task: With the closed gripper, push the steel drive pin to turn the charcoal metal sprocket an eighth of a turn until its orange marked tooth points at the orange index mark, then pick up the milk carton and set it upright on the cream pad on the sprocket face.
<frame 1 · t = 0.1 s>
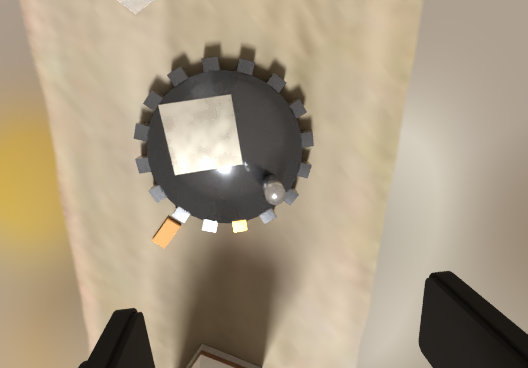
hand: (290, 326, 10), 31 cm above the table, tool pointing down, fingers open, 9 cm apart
index mark: (166, 232, 42), on the table
sprocket: (226, 154, 36), point 3 cm above the table, hinge at 0.0°
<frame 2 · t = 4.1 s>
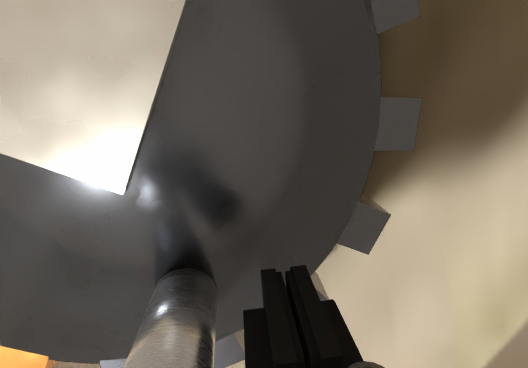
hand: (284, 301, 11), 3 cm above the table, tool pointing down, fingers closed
sprocket: (65, 128, 8), point 3 cm above the table, hinge at -3.5°, touching gripper
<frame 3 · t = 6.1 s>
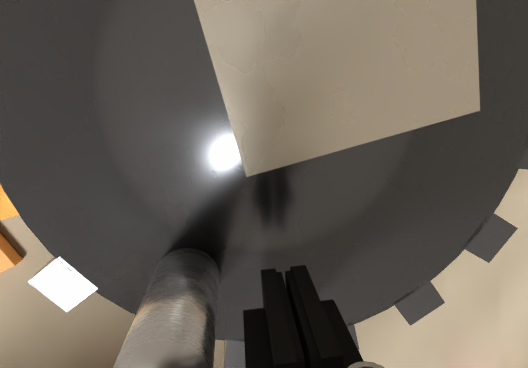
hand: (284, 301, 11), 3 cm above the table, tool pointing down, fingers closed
sprocket: (287, 115, 9), point 3 cm above the table, hinge at -55.4°, touching gripper
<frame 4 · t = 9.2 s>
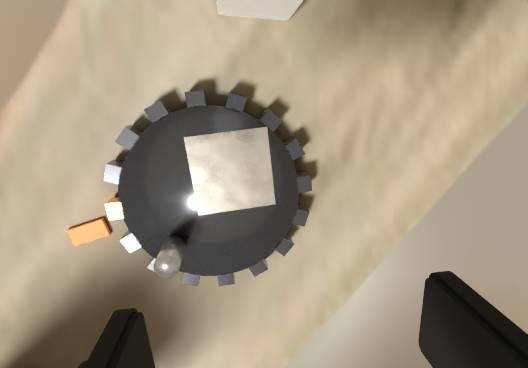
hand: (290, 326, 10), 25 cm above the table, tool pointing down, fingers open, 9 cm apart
index mark: (90, 231, 34), on the table
sprocket: (211, 200, 31), point 3 cm above the table, hinge at -55.5°
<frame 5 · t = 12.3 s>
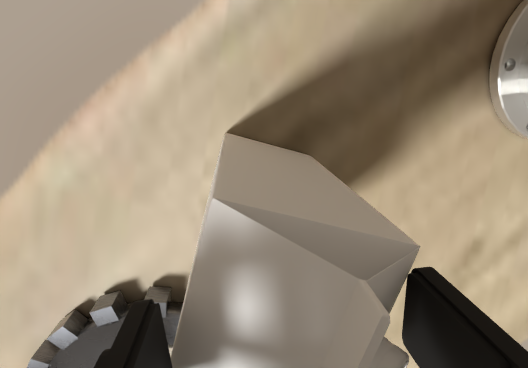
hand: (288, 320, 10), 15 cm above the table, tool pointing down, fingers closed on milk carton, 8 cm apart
milk carton: (256, 184, 25), on the table, touching gripper
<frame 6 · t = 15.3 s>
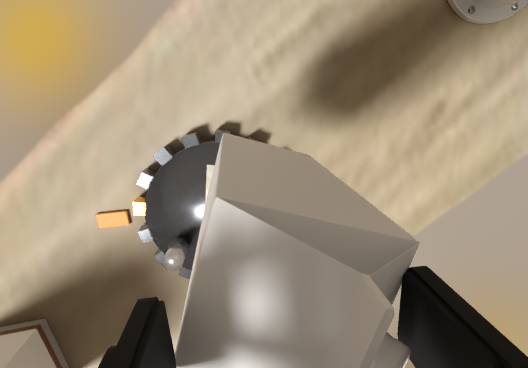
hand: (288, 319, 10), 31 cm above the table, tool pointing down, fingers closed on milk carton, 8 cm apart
milk carton: (255, 184, 25), point 16 cm above the table, touching gripper
index mark: (113, 218, 41), on the table
sprocket: (217, 217, 39), point 3 cm above the table, hinge at -55.5°
banded white pillar: (26, 352, 47), on the table
when the fingers open (19 cm above the table, at t = 18.6 s): milk carton stays where it is, resting on sprocket.
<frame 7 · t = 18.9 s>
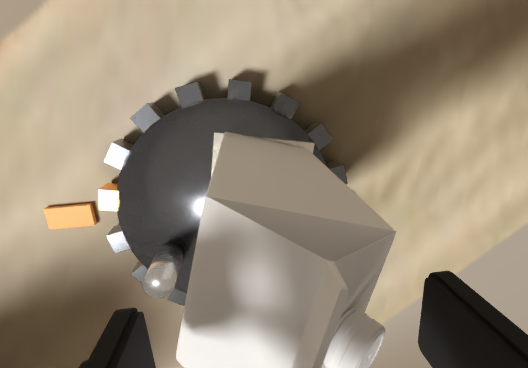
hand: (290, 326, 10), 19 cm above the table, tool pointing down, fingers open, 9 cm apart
milk carton: (257, 179, 26), point 3 cm above the table, touching sprocket
index mark: (72, 215, 28), on the table
sprocket: (228, 214, 25), point 3 cm above the table, hinge at -55.5°, touching milk carton
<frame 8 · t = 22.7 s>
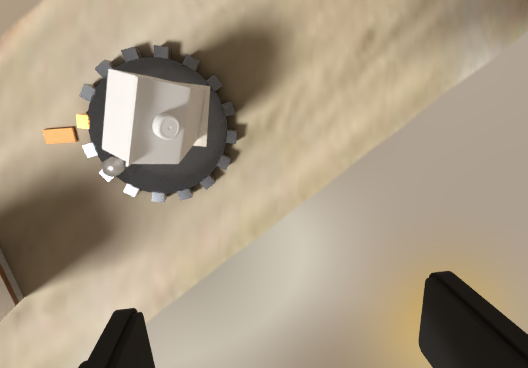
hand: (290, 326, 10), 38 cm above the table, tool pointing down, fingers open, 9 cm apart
milk carton: (176, 109, 42), point 2 cm above the table, touching sprocket
index mark: (61, 135, 43), on the table
sprocket: (157, 130, 41), point 3 cm above the table, hinge at -55.5°, touching milk carton
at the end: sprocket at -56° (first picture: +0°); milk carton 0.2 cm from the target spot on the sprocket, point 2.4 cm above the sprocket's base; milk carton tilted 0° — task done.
